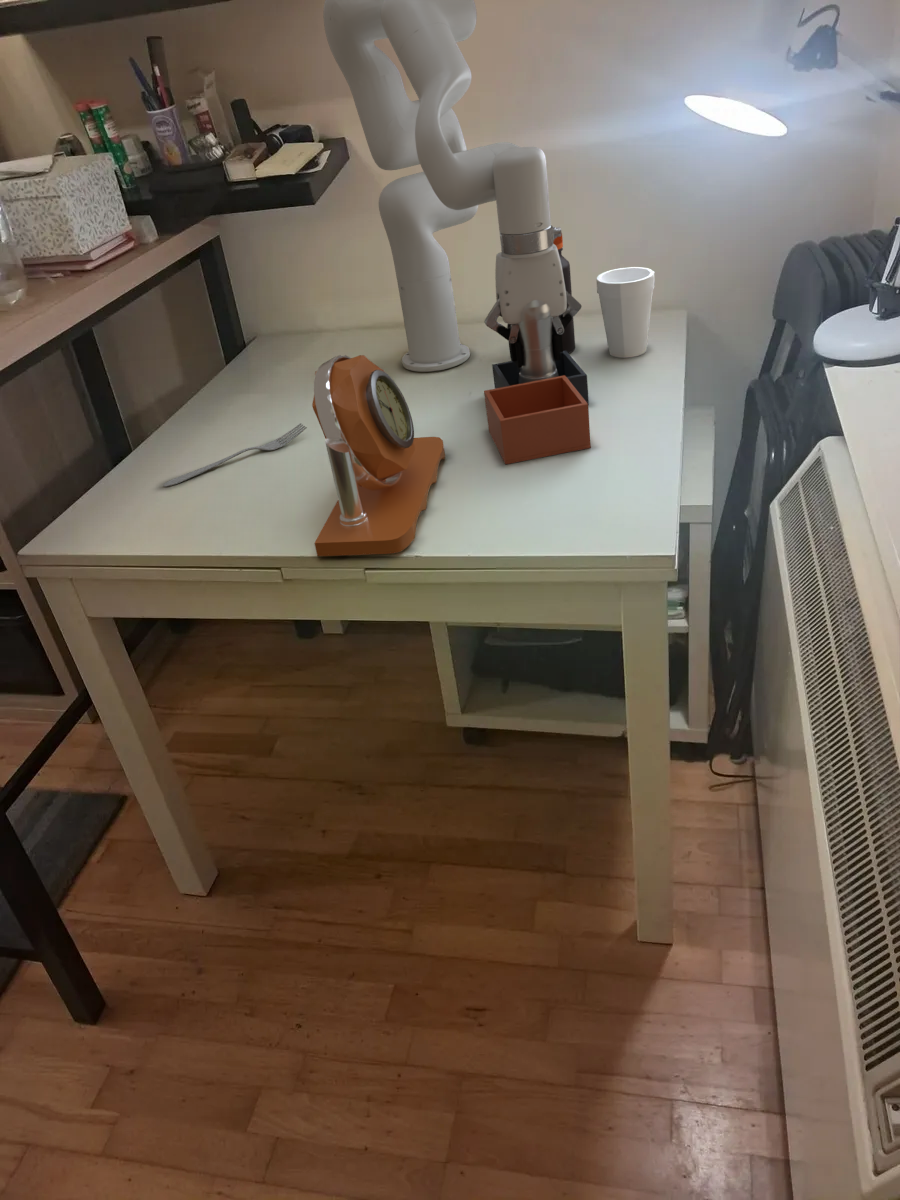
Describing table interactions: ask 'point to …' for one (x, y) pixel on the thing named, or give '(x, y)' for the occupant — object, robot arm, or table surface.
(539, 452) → the terracotta bin
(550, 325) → the metal bottle
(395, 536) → the desk clock
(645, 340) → the foam cup
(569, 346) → the vinegar
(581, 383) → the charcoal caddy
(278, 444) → the fork
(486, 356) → the table surface
